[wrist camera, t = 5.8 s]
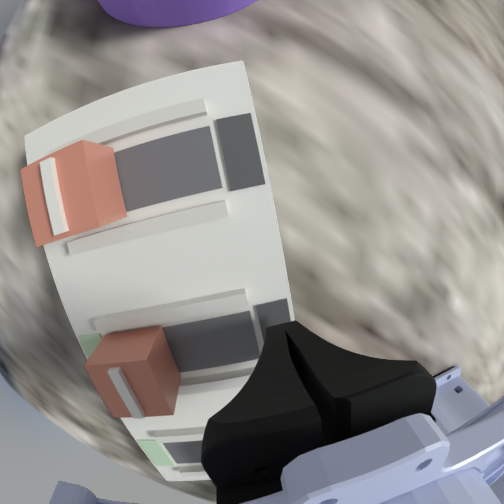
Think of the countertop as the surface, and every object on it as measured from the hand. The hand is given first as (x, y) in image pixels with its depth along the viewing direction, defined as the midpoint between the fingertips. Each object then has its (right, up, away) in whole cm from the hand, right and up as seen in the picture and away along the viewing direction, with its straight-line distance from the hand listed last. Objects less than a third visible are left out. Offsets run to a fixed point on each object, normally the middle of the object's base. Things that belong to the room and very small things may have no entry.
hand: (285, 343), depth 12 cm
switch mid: (-7, -1, +1) cm, 7 cm away
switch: (-8, +6, -1) cm, 11 cm away
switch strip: (-5, 0, +3) cm, 6 cm away
